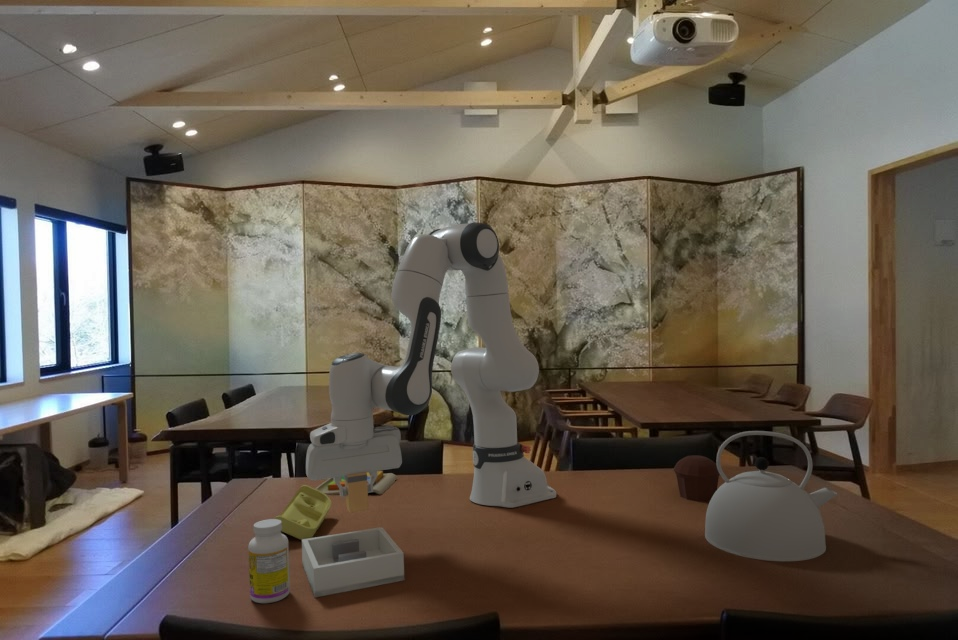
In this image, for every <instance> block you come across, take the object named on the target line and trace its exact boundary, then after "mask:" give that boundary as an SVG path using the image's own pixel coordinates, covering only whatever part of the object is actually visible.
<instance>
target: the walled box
mask: <svg viewBox="0 0 958 640" xmlns="http://www.w3.org/2000/svg"><path fill="white" fill-rule="evenodd" d="M301 558H302V559H301V561H302V567H304V568H303V570H304V573H305V572H306V573H305V575H307V576H306V579H307V581H308V584H309V583H310V584H309V586H310V589H311V591H313V592H312V594H313V596H314V598H319V597H324V596H330V595H335V594H336V595H337V594H341V593H346V592H352V591H356V590H361V589H366V588H371V587H376V586H382V585H387V584H392V583H397V582H403V581H405V557H404V552H403V551H402V549H401V548H400V547H399V546H398V544H397V543H396V542H395V541H394V540H393V539H392V537H391V536H390V534H389V533H388V531H386V530H385V529H384V527H382V526H380V527H374V528H367V529H360V530H354V531H353V530H352V531H348V532H341V533H335V534H329V535H322V536H317V537H316V536H315V537H312V538H309V539H302V540H301Z"/></svg>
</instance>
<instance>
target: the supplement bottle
mask: <svg viewBox="0 0 958 640" xmlns="http://www.w3.org/2000/svg"><path fill="white" fill-rule="evenodd" d="M281 530H282V521H281V520H278V519H274V518H268V519H263V520H259V521H256V522H255V523H254V524H253V533H254V535H255V536H254V537H252V538H251V540H250V541H249V543H248V547H247V548H248V570H249V571H248V572H249V573H248V574H249V577H248V578H249V579H248V580H249V594H250V595H249V597H250V600H252V602H254V603H256V604H271V603H277V602H279V601H281V600H283V599H285V598H286V597H287V596H289V594H290V591H291V584H290V583H291V581H290V580H291V579H290V552H289V539H288V537H287V535H285V534H284V533H282V531H281Z"/></svg>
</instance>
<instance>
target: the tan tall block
mask: <svg viewBox="0 0 958 640" xmlns="http://www.w3.org/2000/svg"><path fill="white" fill-rule="evenodd" d="M344 479H345V486H346V487H347V488H348V492H347V493H348V496H346V497H345V505H346V509H347V511H348V512H349V514H352V513H358V512H364V511H369V509H370V507H369V493H368V488H367V473H366V472H365V473H358V474H352V475H347V476H344Z"/></svg>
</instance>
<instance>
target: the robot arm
mask: <svg viewBox="0 0 958 640" xmlns="http://www.w3.org/2000/svg"><path fill="white" fill-rule="evenodd" d="M499 243H500V242H499V237H498V235H497V233H496V231H495V229H493V227H491V225H489V224H487V223H483V222H475V221H474V222H471V223H458V224H451V225H450V226H447V227H443V228H437V229H434V230H432V231H430V232H429V233H428V234H426V233H425V234H419V235H417V236H415V237H414V238H413V239H412V240H411V241H410V243H409V244H408V246H407V247H406V250H405V251H404V253H403V255H402V258H401V261H400V262H399V265H398V268H397V270H396V273H395V277H394V280H393V283H392V286H391V293H390V294H391V295H390V296H391V297H390V298H391V300H392V303H393V305H394V306H395V308H396V309H397V310H398V312H400V313H401V314H402V315H403V316H404V317H407V318H408V320H409V322H410V328H411V329H410V335H409V339H408V343H407V344H408V345H407V348H406V355H405V358H404V361H403V363H401V365H400V366H395V365H386V364H384V363H381V362H378V361H375V360H374V359H371V358H370V357H368V356H367V355H366V354H365V353H362V352H354V353H346V354H344V355H340V356H338V357H336V358H335V359H334V360H332V362H331V363H330V367H329V373H328V375H329V376H328V393H329V401H330V403H331V413H330V422H329V423H327V424H325V425H323V426H320V427H318V428H316V429H313V430H311V431H310V433H309V438H310V439H309V440H310V442H311V443H310V444H309V445H308V447H307V450H306V457H305V474H306V476H307V478H308V479H309V481H314V482H315V481H321V480H328V479H329V478H333V479H334V482H335V483H336V484H337V486H338V487H339V491H340V495H339V496H340V498H344V497H345V498H346V496H348V493H347V492H348V488H347V487H346V486H345V487H342V486H341V484H340V483H339V482H341V481H342V476H347V475H352V474H358V473H365V472H366V473H367V472H369V474H370V476H371V477H370V479H369V482H368V483H367V488H368V494H369V493H374V492H373V484H374V482H375V480H376V478H377V471H384V470H392V469H399V468H400V467H401V465H402V463H403V458H402V457H403V456H402V451H401V447H400V443H401V439H402V438H401V437H402V436H401V430H400V429H399V427H397V426H394V425H392V424H389V425H385V426H374V414H373V411H374V409H376V408H378V409H382V410H385V411H393V412H395V413H398V414H401V415H404V416H414V415H417V414H419V413H421V412H422V411H423V410H424V409H425V408H426V407H427V406H428V404H429V402H430V400H431V397H432V392H433V367H434V362H435V356H436V352H437V345H438V340H439V335H440V334H439V333H440V328H441V322H442V310H441V306H440V295H441V293H442V288H443V285H444V281H445V278H446V274H447V272H448V271H461V272H462V274H463V276H464V280H465V282H464V283H465V284H464V288H465V291H464V292H465V302H466V303H465V304H466V312H467V323H468V327H469V328H470V330H472V332H474V333H475V334H477V335H478V336H479V337H480V339H481V341H482V343H483V345H484V347H469V348H466V349H463V350H460V351H458V352H457V353H456V354H454V356H453V358H452V360H451V364H450V372H451V376H452V378H453V380H454V382H455V383H456V384H457V385H459V387H460V388H461V390H462V391H463V393H465V396H466V398H467V401H468V403H469V406H470V409H471V413H472V420H473V421H472V422H473V435H474V436H473V437H474V438H473V441H474V443H473V445H472V462H473V469H474V470H473V479H472V487H471V492H470V494H469V495H470V496H469V500H470V501H471V502H473V503H475V504H477V505H483V506H489V507H490V506H491V507H503V508H509V509H510V508H512V509H513V508H517V507H522V506H527V505H530V504H535V503H539V502H543V501H546V500H551V499H555V498H557V491H556V490H555V489H554V488H553V487H551V486H550V485H548V481H547V477H546V474H545V472H544V471H543V469H542V468H541V467H539V466H537V465H536V464H535V463H533V462H532V461H531V460H529V459H528V458H527V457H525V455H524V453H525V454H530V452H531V451H532V447H531V446H530V445H528V444H522V443H519V442H518V431H517V429H518V425H517V415H516V412H515V410H514V409H513V408H512V407H511V406H510V405H508V403H506V401H505V399H504V398H503V396H502V392H513V393H514V392H520V391H525V390H529V389H531V388H532V387H534V385H535V384H536V382H537V381H538V377H539V372H540V367H539V363H538V360H537V358H536V356H535V355H534V354H533V353H532V352H531V351H529V350H528V349H527V348H526V346H525V345H524V344H523V343H522V341H521V340H520V338H519V336H518V333H517V332H516V329H515V326H514V324H513V320H512V319H513V318H512V313H511V312H512V311H511V303H510V302H511V301H510V293H509V292H510V290H509V283H508V277H507V273H506V269H505V264H504V261H503V258H502V257H501V255H500V254H499V253H500V244H499Z"/></svg>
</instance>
